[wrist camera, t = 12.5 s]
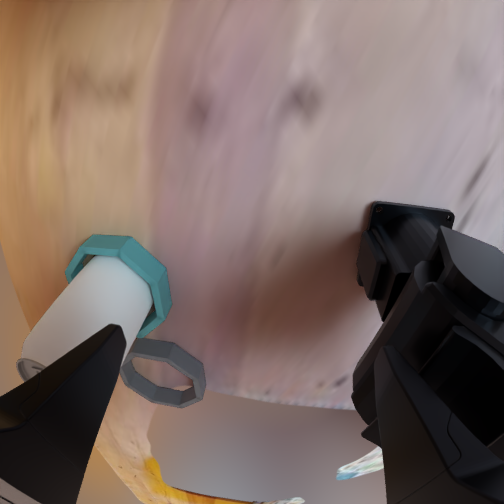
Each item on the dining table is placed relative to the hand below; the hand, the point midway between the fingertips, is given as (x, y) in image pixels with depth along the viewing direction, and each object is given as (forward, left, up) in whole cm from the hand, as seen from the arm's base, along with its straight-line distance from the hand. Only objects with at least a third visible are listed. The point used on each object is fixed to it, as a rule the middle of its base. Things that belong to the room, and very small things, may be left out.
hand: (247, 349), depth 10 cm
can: (+12, +7, -12) cm, 18 cm away
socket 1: (+12, +7, -12) cm, 18 cm away
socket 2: (+10, +18, -12) cm, 24 cm away
